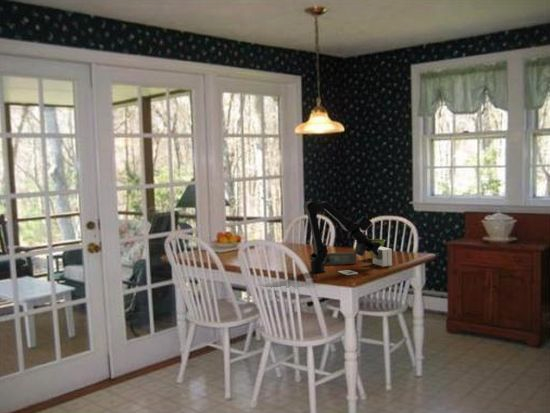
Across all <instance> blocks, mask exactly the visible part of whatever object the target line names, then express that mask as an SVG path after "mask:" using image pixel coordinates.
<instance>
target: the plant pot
mask: <svg viewBox="0 0 550 413" xmlns="http://www.w3.org/2000/svg"><path fill="white" fill-rule="evenodd" d="M369 239H370V240H372V242H379V243H380V244H381V246H380V247H385V246H384V245H385V242H386V239H381V238H372V239H371V238H369ZM371 260H373V258H371Z"/></svg>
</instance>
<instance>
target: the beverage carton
mask: <svg viewBox="0 0 550 413" xmlns="http://www.w3.org/2000/svg"><path fill="white" fill-rule="evenodd" d="M356 255H357V254H355V253H354V251H345V252H329V253H328V252H327V256H326V257H325V259H324V262H323V263H324V266H329V265H330V266H331V265H332V266H333V265H350V264H351V265H355V264H357V258H356V257H357V256H356Z"/></svg>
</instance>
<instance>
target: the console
mask: <svg viewBox="0 0 550 413" xmlns="http://www.w3.org/2000/svg"><path fill="white" fill-rule="evenodd" d="M392 250H393V249H392V248H389V247H385V246H384V247H379V248H378V250H377V252H379V251H380V252H382V259H380V260H379V259H376V258H373V259H372V265H376V266H377V265H378V266H380V267H390V266H393V251H392Z"/></svg>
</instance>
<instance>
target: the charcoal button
mask: <svg viewBox="0 0 550 413" xmlns="http://www.w3.org/2000/svg"><path fill="white" fill-rule="evenodd" d="M376 259H379V260H380V259H382V252H380V251H379V252H378V255H376Z"/></svg>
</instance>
